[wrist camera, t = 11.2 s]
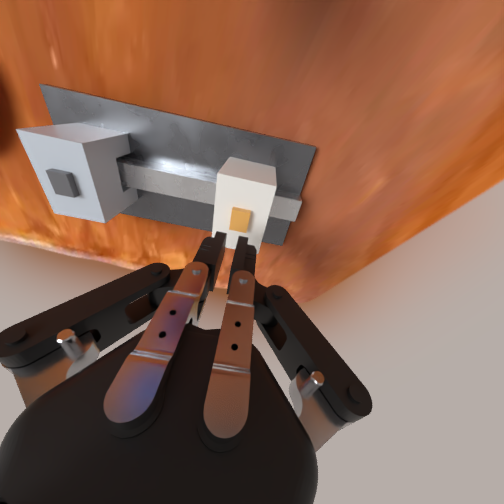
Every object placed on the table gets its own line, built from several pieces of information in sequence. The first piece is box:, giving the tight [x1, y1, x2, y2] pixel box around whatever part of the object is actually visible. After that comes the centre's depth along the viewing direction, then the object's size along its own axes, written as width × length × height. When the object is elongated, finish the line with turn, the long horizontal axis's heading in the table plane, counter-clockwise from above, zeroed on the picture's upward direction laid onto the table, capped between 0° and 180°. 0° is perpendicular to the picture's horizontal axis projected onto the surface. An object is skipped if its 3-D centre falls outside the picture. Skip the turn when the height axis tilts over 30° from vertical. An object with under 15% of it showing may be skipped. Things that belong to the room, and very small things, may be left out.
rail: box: [39, 84, 316, 246], centre depth 22 cm, size 12×26×3 cm, turn 79°
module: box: [212, 157, 277, 254], centre depth 20 cm, size 7×5×7 cm
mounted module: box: [16, 123, 138, 223], centre depth 19 cm, size 7×5×7 cm
